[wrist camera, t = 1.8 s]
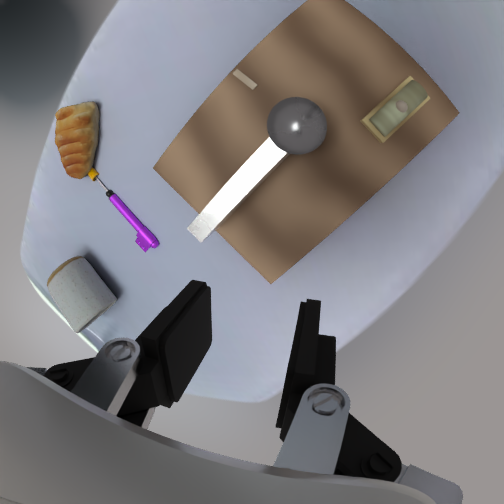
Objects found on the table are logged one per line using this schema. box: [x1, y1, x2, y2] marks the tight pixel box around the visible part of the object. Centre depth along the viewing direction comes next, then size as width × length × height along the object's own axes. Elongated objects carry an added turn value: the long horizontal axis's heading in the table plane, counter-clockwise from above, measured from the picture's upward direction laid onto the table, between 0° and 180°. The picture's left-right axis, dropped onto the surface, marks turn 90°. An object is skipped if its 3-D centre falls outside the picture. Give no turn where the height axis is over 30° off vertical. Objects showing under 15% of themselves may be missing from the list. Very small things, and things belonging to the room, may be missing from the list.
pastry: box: [55, 102, 100, 179], centre depth 27 cm, size 9×7×4 cm
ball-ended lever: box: [187, 97, 327, 242], centre depth 22 cm, size 14×4×4 cm, turn 137°
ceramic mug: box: [47, 256, 117, 333], centre depth 34 cm, size 11×8×8 cm
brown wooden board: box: [153, 0, 459, 284], centre depth 22 cm, size 24×16×5 cm, turn 137°
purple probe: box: [88, 167, 159, 252], centre depth 31 cm, size 3×1×16 cm
